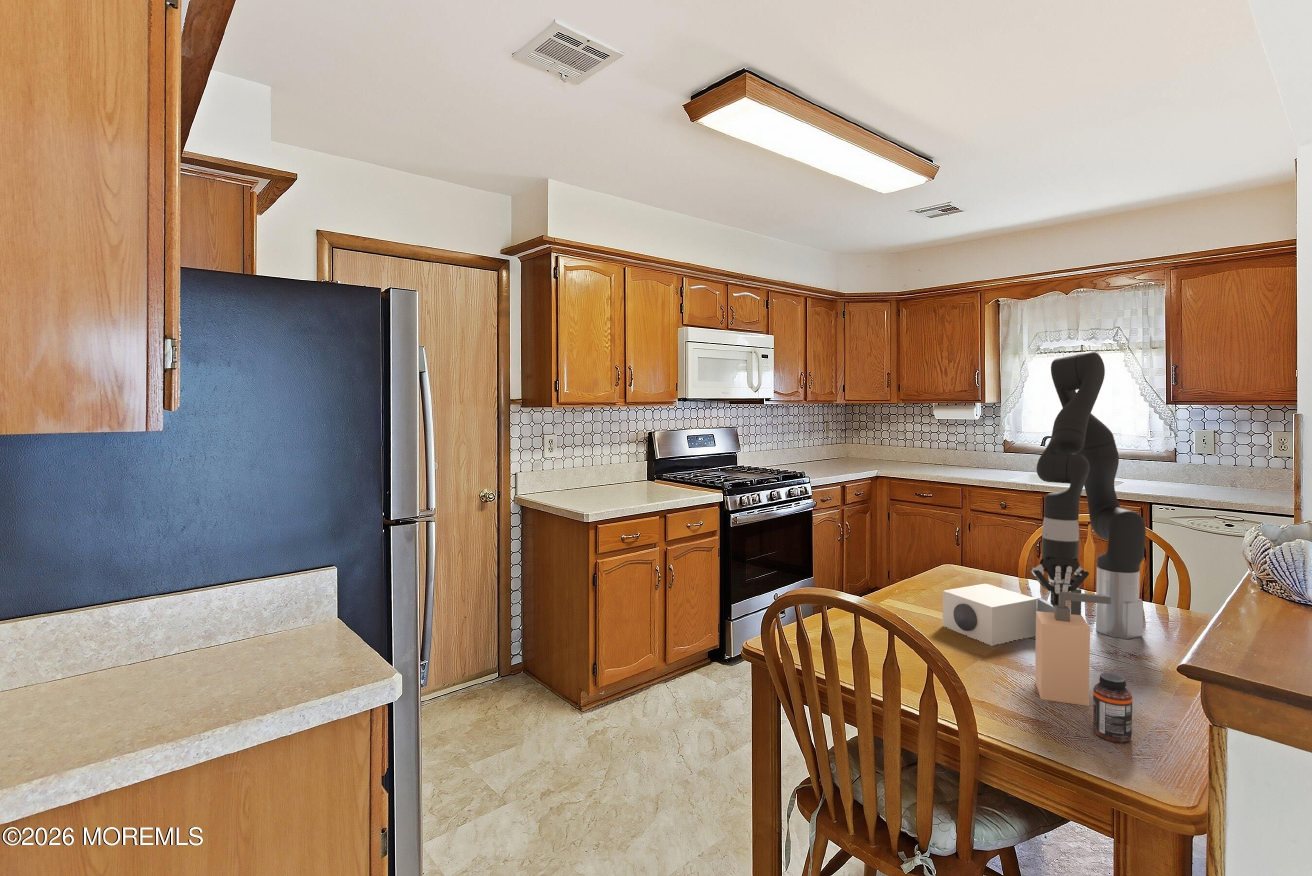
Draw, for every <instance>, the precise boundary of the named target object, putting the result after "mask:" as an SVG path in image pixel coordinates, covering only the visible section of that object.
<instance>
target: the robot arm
mask: <svg viewBox="0 0 1312 876" xmlns="http://www.w3.org/2000/svg"><path fill="white" fill-rule="evenodd" d="M1105 372H1106V368H1105V363H1104V361H1103V359H1102V356H1101V355H1100V354H1099V353H1098V352H1096V351H1093V350H1092V351H1084V352H1080V353H1075V354H1071V355H1065V356H1062V357H1057V358H1054V359H1053V360H1052V362H1051V364H1050V373H1051V379H1052V382H1053V385H1054V388H1055V391H1056V393H1057V396H1058V399H1059V402H1060V404H1061V407H1062V409H1061V410H1060V411H1059V413H1058V414H1057V416H1056V417H1055V419H1054V422H1053V425H1052V431H1051V436H1050V440H1049V442H1048V444H1047V446H1046V447H1045V449H1044V450H1043V452H1042V453H1041V455H1040V457H1039V459H1038V460H1037V464H1036V473H1037V476H1038V478H1039V479H1040V480H1041V481H1043V482H1045V483H1056V484H1058V483H1059V484H1069V487H1068V489H1066V490H1065V491H1054V492H1049V493H1046V495H1045V496H1044V508H1043V509H1044V510H1043V521H1042V531H1041V535H1042V536H1041V559H1040V561H1039V564H1038V565H1037V566H1036V567H1030V568H1029V572H1030V573H1031V574H1032V576H1033V577H1034V578H1035V579H1036V580H1037V582H1038V583H1039V585H1040V586H1041V587H1042V588H1043V589H1045V590H1047V591H1049V592H1050V601H1049V603H1051V605H1053V607H1054V605H1059V592H1071V591H1075V590H1076V589H1077V588H1079V587H1080V585H1081V584H1082V583H1083V582H1084V581H1085V580H1086V579H1087V578H1088V577H1089V575H1090V572H1089V571H1087V570H1086V569H1084V568H1082V567H1081V566H1080V562H1079V560H1078V559H1079V554H1080V553H1079V551H1080V523H1079V522H1080V521H1079V516H1080V515H1079V514H1080V513H1079V512H1080V500H1081V496H1082V492H1083V489H1084V490H1085V494H1086V500H1087V508H1088V509H1087V510H1088V516H1089V522H1090V525H1091V528H1092V530H1093V532H1094V534H1095V535H1096V536H1098V537H1099V538H1100V539H1102V540H1106V541H1107V551H1106V552H1105V553H1103V554H1099V555H1098V556H1097V558H1096V595H1108V596H1110V597H1111V604H1101V603H1095V605H1096V606H1095V630H1096V631H1098V632H1099V633H1101V634H1103V635H1107V636H1110V637H1115V638H1120V639H1125V640H1131V639H1135V638H1139V637H1142V636H1143V627H1144V626H1143V621H1144V620H1143V618H1144V612H1143V611H1144V602H1143V599H1141V598H1140V577H1141V576H1140V573H1141V572H1140V569H1141V564H1142V562H1143V560H1144V557H1145V548H1146V547H1145V546H1146V536H1147V535H1146V531H1147V529H1146V523H1145V521H1144V519H1143V517H1142V516H1141V515H1140V514H1139V513H1138V512H1136V511H1135V510H1134V511H1133V510H1130V509H1127V508H1122V507H1121V506H1120V504H1119V500H1118V497H1117V494H1116V490H1115V489H1116V488H1115V480H1116V476H1117V473H1118V468H1119V461H1120V458H1119V457H1120V455H1119V452H1118V451H1119V450H1118V448H1117V444H1116V439H1115V436H1114V433H1113V432H1112V431H1111V430H1110V429H1109V427H1108V426H1106V425H1105V424H1104V423H1103V422H1102V421H1101V420H1100V419H1098V418H1097V417H1096V416H1095V415H1094V414H1093V413H1092V410H1093V408H1094V406H1095V403H1096V401H1097V399H1098V396H1099V394H1100V392H1101V389H1102V386H1103V383H1104V380H1105V374H1106V373H1105ZM1044 574H1046V575H1047V579H1048V580H1047V579H1046V577H1045V576H1044Z"/></svg>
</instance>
